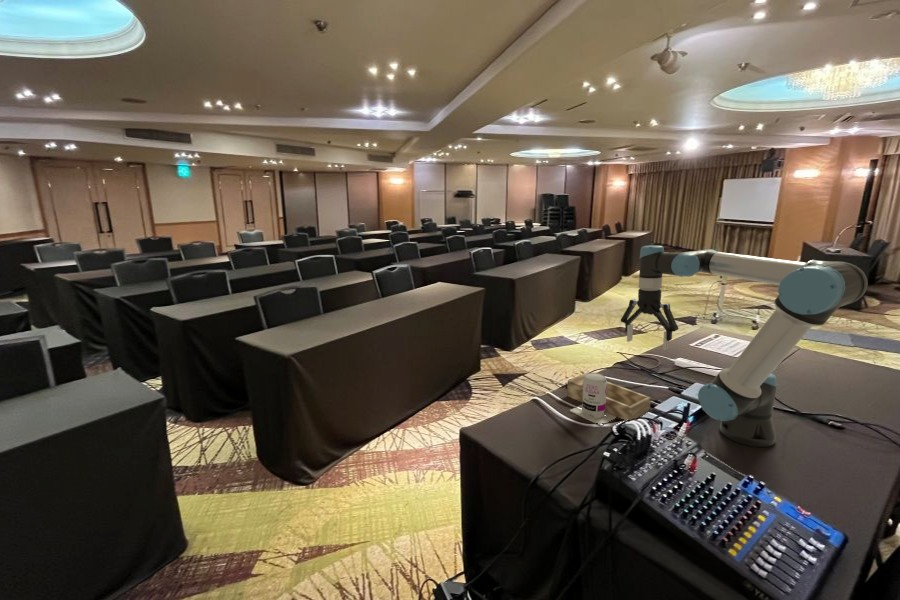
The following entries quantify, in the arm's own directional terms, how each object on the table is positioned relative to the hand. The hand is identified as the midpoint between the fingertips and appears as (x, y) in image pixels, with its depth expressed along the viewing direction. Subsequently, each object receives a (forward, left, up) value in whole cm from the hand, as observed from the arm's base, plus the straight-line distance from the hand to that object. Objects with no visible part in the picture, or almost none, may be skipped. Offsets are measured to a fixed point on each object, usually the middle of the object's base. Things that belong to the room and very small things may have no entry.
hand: (647, 344), depth 153 cm
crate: (+10, +8, -25) cm, 29 cm away
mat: (+8, +20, -25) cm, 33 cm away
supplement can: (+8, +20, -25) cm, 33 cm away
